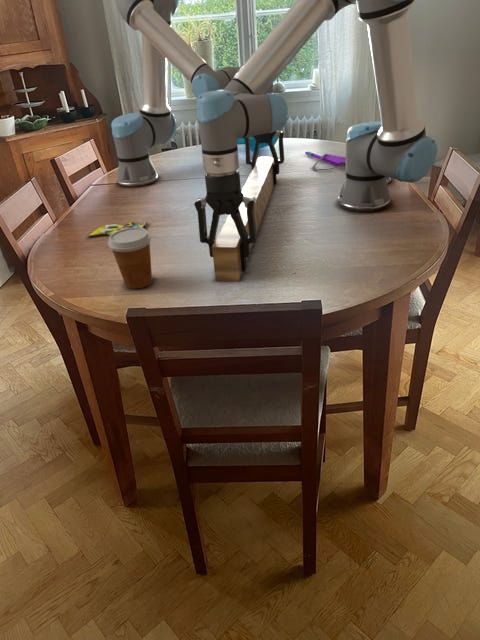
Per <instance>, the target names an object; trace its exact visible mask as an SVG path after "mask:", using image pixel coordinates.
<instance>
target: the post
mask: <svg viewBox="0 0 480 640" xmlns="http://www.w3.org/2000/svg"><path fill="white" fill-rule="evenodd" d="M274 164H275V163H274V160H273V157H272V156H259V157H257V159H256V163H255V166H254V168H253V170H252V169H251V172H250V174H249V175H248V177H247V180H246V181H245V183H244V185H243V187H242V188H241V192H242V193H243V195H244V197H248V198H251V197H254V198H255V199H256V201H255V205H254V214H255V223H256V232H257V233H258V231H259V228H260V225H261V223H262V219H263V217H264V214H265V211H266V209H267V206H268V203H269V200H270V199H271V198H270V197H271V195H272V193H273V189H274V186H275V185H274V180H273V165H274ZM238 208H239V211H240V215H241V218H242V221H243V223H244V226H245V228H246V231H247V234H248V236H250V235H249V227H248V218H247V208H246V207H245V205H244V203H243V202H242V203H241V204H240V206H239V207H238ZM241 242H242V241H241V238H240V236H239V233H238V231H237V228H236V225H235V223H234V220H233V219H232V217H231V215H227V217H226V220H225V221H224V223H223V225H222V227H221V229H220V230H219V232H218V235H216V239H215V242H214V244H213V246H212V253H213V257H212V262H213V269H214V276H215V281H217V282H219V281H223V282H225V281H226V282H240V280H241V277H242V276H243V275H242V274H243V272H242V267H241V256H240V244H241ZM253 244H254V243H250V244H249V245H250V251H251V250H252V247H253ZM248 258H249V257H246V262H247V260H248Z"/></svg>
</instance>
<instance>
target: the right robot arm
mask: <svg viewBox="0 0 480 640" xmlns="http://www.w3.org/2000/svg"><path fill="white" fill-rule="evenodd" d="M414 3H415V0H296V1H295V2H294V3H293V4H292V5H291V6H290V8H289V9H288V10H287V11H286V13H285V14H284V15H283V16H282V18H281V19H280V20H279V21H278V23H276V25H275V26H274V27H273V29H271V31H270V32H269V33H268V34H267V36H266V37H265V39H264V40H263V41H262V42H261V44H259V46H258V47H257V48H256V50H255V51H253V54H251V56H250V57H249V58H248V59H247V61H246V62H245V63H244V64H243V65H242V66H241V67H242V68H241V69H240V71H239V72H238V73H237V74H236V75H235V77H234V78H233V79H232V80H231V82H230V83H229V84H228V85H227V86H226V87H225V89H219V90H216V91H210V92H205V93H202V94H200V95H199V96H198V98H196V114H197V118H196V120H197V123H198V130H199V137H200V144H201V156H202V165H203V171H204V172H205V175H204V183H205V190H206V191H205V192H206V195H205V197H203V198H201V197H198V198H197V199H196V200H195V202H193V203H194V204H193V205H194V207H195V209H196V212H197V221H198V222H197V223H198V234H199V242H200V243H201V244H207V246H208V252H209V256H210V258H213V253H212V246H213V244H214V242H215V240H216V238H217V233H218V227H219V222H220V218H221V217H220V216H223V215H227V216H228V215H231V217H232V219H233V220H234V223H235V225H236V228H237V231H238V233H239V236H240V238H241V241H242V242H241V244H240V256H241V267H242V273H243V272H244V273H245V272H246V270H247V267H248V265H247V261H246V257H248V258H250V255H251V250H250V245H249V244H250V243H253V244H254V243H256V241H257V238H258V231H257V232H256V223H255V214H254V205H255V201H256V199H255V198H254V197H251V198H248V197H244V195H243V193H242V192H241V191H242V187H241V184H242V183H241V174H240V171H239V169H240V161H239V160H240V159H239V149H238V148H239V147H238V146H239V145H238V144H237V139H241V138H245V137H250V136H255V135H260V134H266V133H272V132H274V131H281V130H282V129H284V128H285V126H286V125H287V122H288V118H289V107H288V104H287V101H286V98H285V97H284V95H282V94H280V93H278V92H273V93H272V94H269V93H266V94H264V93H265V92H266V91H267V89H268V88H269V87H270V86H271V85H272V83H273V84H274V82H275V81H276V80H277V79H278V77H279V76H280V75H281V74H282V73H283V72H284V71H285V69H286V68H287V67H288V65H289V64H290V63H291V62H292V61H293V59H294V58H295V57H296V56H297V55H298V54H299V52H300V51H301V50H302V48H303V47H304V46H305V45H306V44H307V42H309V40H310V39H311V38H312V36H313V35H314V34H315V33H316V32H317V31H318V29H319V28H320V27H321V26H322V25H323V23H324V22H325V21H326V22H328V21H331V20H332V19H333V18H334V17H335V16H336V15H337V14H338V13H339V12H340V11H341V10H343V9H344V8H346V7H348V6H351V5H356V8H357V13H358V19H359V21H361V22H362V23H363V24H365V25H366V26H367V32H368V38H369V46H370V52H371V61H372V66H373V74H374V80H375V87H376V95H377V101H378V108H379V116H380V121H379V120H377V121H368V122H363V123H362V122H361V123H358V124H353V125H352V126H350V127H349V128H348V130H347V134H346V140H345V157H346V165H345V176H344V181H343V182H342V186H341V189H340V192H339V195H338V197H337V206H339V208H340V209H343V210H345V211H349V212H354V213H373V212H379V211H383V210H385V209H387V208H388V207H389V206H390V205H391V194H390V189H389V186H388V185H390V184H391V183H392V182H393V180H396V181H398V182H402V183H403V182H404V183H409V184H413V183H417V182H419V181H420V180H422V179H424V178H425V177H426V176H427V175H428V173H429V172H430V171H431V169H432V167H433V166H434V164H435V161H436V159H437V155H438V145H437V141H436V140H435V139H433V137H431V136H427V134H426V124H425V122H424V121H423V119H421V118H419V117H418V116H419V115H418V106H417V95H416V86H415V76H414V75H415V73H414V65H413V64H414V63H413V54H412V43H411V42H412V41H411V33H410V32H411V31H410V22H409V21H410V20H409V11H410V9H411V8H412V6H413V5H414ZM263 94H264V95H263ZM387 179H388V180H389V181H388V182H387ZM242 202H243V203H244V205H245V207H246V208H247V218H248V227H249V235H250V236H248V234H247V231H246V228H245V226H244V223H243V221H242V218H241V215H240V211H239V208H238V207H239V206H240V204H241V203H242ZM207 205H208V206H209V208H211V209H212V217H211V225H210V228H209V233H208V226H207V213H206V211H207V210H206V207H207Z"/></svg>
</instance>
